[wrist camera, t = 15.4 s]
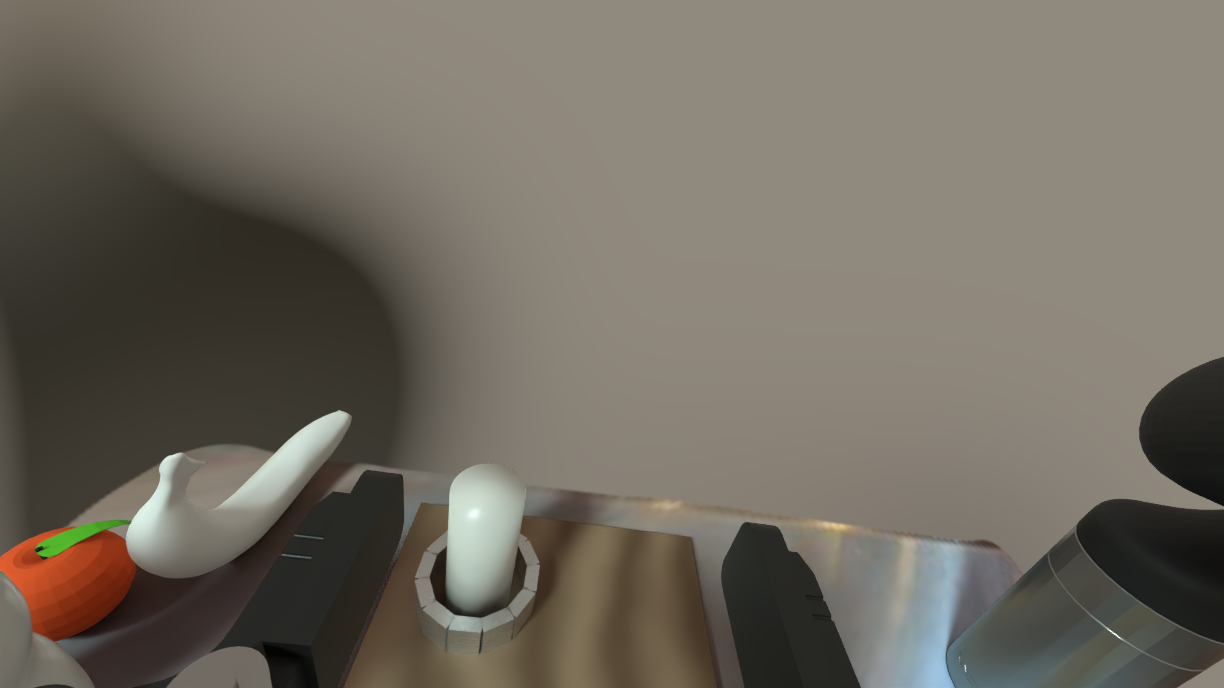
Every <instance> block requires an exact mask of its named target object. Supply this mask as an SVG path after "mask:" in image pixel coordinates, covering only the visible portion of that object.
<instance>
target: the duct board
mask: <svg viewBox="0 0 1224 688" xmlns="http://www.w3.org/2000/svg"><path fill="white" fill-rule="evenodd" d="M448 518H449V506H443V505H436V504H428V503H421V505H420V507H419V510H418V512H417V514H416V517H415V519H414V521H413V524H412V526H411V528H410V531H409V533H408V536H407V538H406V540H405V543H404V545H403V547H402V550H401V552H400V554H399V557H398V559H397V562H396V564H395V566H394V569H393V571H392V573H391V576H390V578H389V580H388V583H387V585H386V588H385V590H384V592H383V595H382V597H381V599H380V602H379V604H378V606H377V609H376V611H375V613H374V616H373V618H372V621H371V623H370V625H369V628H368V630H367V632H366V635H365V637H364V639H363V642H362V644H361V647H360V649H359V651H358V654H357V656H356V658H355V661H354V663H353V665H352V668H351V670H350V673H349V675H348V677H347V680H346V682H345V684H344V687H343V688H717V684H716V678H715V673H714V667H713V661H712V656H711V650H710V645H709V639H708V634H707V628H706V622H705V617H704V611H703V606H702V600H701V595H700V589H699V583H698V578H697V572H696V567H695V561H694V555H693V550H692V544H691V539H690V537H684V536H677V535H669V534H661V533H653V532H645V531H638V530H630V529H622V528H614V527H607V526H599V525H591V524H583V523H576V522H568V521H560V520H552V519H544V518H537V517H529V516H523V517H522V524H521V530H520V534H522V535H523V536H525V537H526V538H528V540H527V541H530V543H531V545H532V547H533V550H534V552H535V554H536V556H537V558H538V560H539V562H540V563H539V565H540V568H539V575H538V583H537V590H536V595H535V600H534V605H533V610H532V613H531V616H530V617H529V619H528V620H527V621H526V623H525V624H524V625H523V627H522V628H521V629H520V631H519V632H518V633H517V635H516V636H515V637H514V639H513V640H512V639H511V640H510V642H508V643H506V644H504V645H502V646H500V647H498V648H495V649H493V650H491V651H489V652H487V653H485V654H482V655H481V653H480V650H479V654H478V656H477V655H467V654H456V653H447V649H446V650H445V652H444V651H443V650H442V649H441V648H440V647H438V646H437V645H436V644H435V643H434V642H432V641H431V640H430V639H429V638H428V637H427V636H425V635H424V634H423V633H422V631H421V629H420V624H419V620H418V616H417V612H416V607H415V576H416V573H417V570H418V568H419V565H420V562H421V560H422V557H423V554H424V552H425V551H426V549H427V548H428V547H429V546H430V545H431V544H432V543H434V542H435V541H436V540H437V539H438V538H439V537H440V536H442V535H443V534H444V533H445V532H446V531H447V530H448ZM445 581H446V569H445V570H444V571H443V572H442V573H441V574H440V575H439V576H438V577H437V578H436V580H435V583H434V586H433V593H434V596H435V600H436V601H438V602H439V603H440V604H441V605H443V606H444V607H445ZM522 589H523V586H522V584H521V582H520V579H519V577H518V575H517V572H516V570H515V568H514V572H513V579H512V585H511V591H510V597H509V601H508V604H507V607H508V606H509V605H510V604H511V602H512V601H513V600H514V599H515V597H516V596H517V595H518V594H519V593H520V591H521V590H522ZM507 607H506V608H507ZM445 608H446V607H445Z"/></svg>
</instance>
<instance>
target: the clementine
mask: <svg viewBox="0 0 1224 688" xmlns="http://www.w3.org/2000/svg"><path fill="white" fill-rule="evenodd" d="M131 522H132V521H126V520H110V521H102V522H96V523H91V524H87V525H83V526H79V527H67V528H61V529H56V530H52V531H49V532H46V533H42V534H40V535H38V536H35V537H33V538H30V539H28V540H26V541H24V542H23V543H21V544H19V545H17V546H15V547H14V548H12V549H11V550H9V551H8V552H7V553H5V554H4V555H3V556H1V557H0V570H1V571H3V572H4V573H5V574H6V575H7V576H8V577H9V578H10V579H11V580H12V581H13V582H14V583H15V585H16V586H17V587H18V588H19V589H20V590H21V592H22V593H23V595H24V597H25V599H26V601H27V604H28V607H29V609H30V614H31V620H32V628H33V632H35V633H38V634H40V635H43V636H45V637H47V638H49V639H51V640H52V641H59V640H62V639H65V638H68V637H70V636H73V635H75V634H78V633H80V632H82V631H84V630H86V629H88V628H89V627H91V626H93V625H95V624H96V623H97V622H99V621H100V620H102V619H103V618H104V617H106V616H107V615H108V614H109V613H110V612H111V611H112V610H113V609H114V608H115V607H116V606H117V605H118V604H119V603H120V602H121V601H122V600H123V598H124V597H125V596H126V594H127V593H128V591H129V589H130V587H131V584H132V581H133V579H134V576H135V573H136V563H135V562H134V561H133V560H132V559H131V557H130V555H129V553H128V550H127V546H126V541H125V540H124V538H122V537H120V536H119V535H117V534H115V533H113V532H111V531H108V530H106V529H109V528H112V527H116V526H119V525H124V524H131Z"/></svg>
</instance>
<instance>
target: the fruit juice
mask: <svg viewBox="0 0 1224 688" xmlns="http://www.w3.org/2000/svg"><path fill="white" fill-rule="evenodd" d="M51 684H62V685H68V686H71V687H74V688H95V686H94V684H93V683H92V681H91V679H90V678H89V676H88V675H87V673H86V672H85V671H84V669H83V668H82V667H81V666H80V665H79V664H78V663H77V662H76V661H75V659H74V658H73V657H72V656H71V655H70V654H69V653H68V652H66V651H65V650H64V649H63V648H62V647H61V646H59V645H58V644H57V643H55V642H54V641H52V640H51V639H49V638H47V637H45V636H43V635H40V634H38V633H35V632H33V628H32V620H31V614H30V609H29V607H28V604H27V601H26V599H25V597H24V595H23V593H22V592H21V590H20V589H19V588H18V587H17V586H16V585H15V583H14V582H13V581H12V580H11V579H10V578H9V577H8V576H7V575H6V574H5V573H4V572H3V571H1V570H0V688H34V687H38V686H43V685H51Z"/></svg>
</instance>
